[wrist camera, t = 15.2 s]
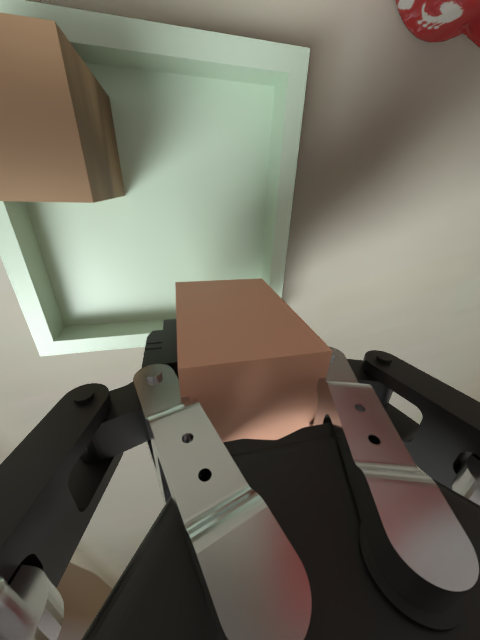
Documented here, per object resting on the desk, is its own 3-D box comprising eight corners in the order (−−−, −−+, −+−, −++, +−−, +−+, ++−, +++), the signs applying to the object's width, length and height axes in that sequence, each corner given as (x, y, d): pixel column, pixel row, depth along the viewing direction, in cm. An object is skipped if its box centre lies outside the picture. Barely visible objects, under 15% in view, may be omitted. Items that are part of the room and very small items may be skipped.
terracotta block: (175, 282, 13) (178, 368, 7) (261, 278, 14) (332, 350, 8) (181, 356, 15) (188, 474, 9) (256, 348, 16) (309, 450, 10)
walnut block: (5, 87, 12) (-164, -13, 6) (109, 97, 13) (54, 20, 7) (37, 193, 14) (-64, 200, 8) (125, 195, 15) (93, 202, 9)
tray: (-54, 19, 11) (-111, -23, 9) (289, 69, 15) (310, 47, 12) (56, 335, 18) (40, 356, 16) (266, 318, 22) (277, 333, 20)
